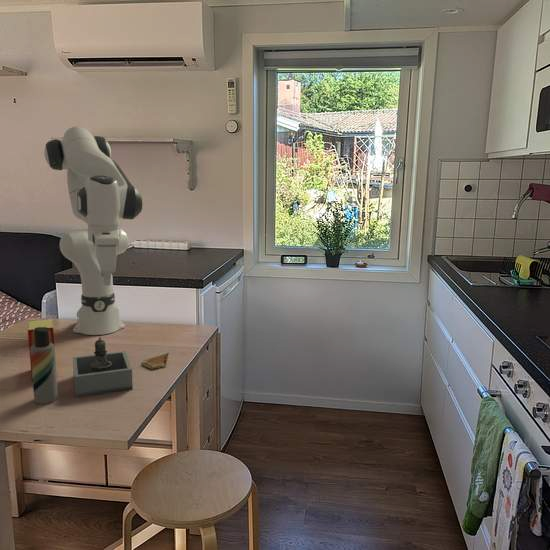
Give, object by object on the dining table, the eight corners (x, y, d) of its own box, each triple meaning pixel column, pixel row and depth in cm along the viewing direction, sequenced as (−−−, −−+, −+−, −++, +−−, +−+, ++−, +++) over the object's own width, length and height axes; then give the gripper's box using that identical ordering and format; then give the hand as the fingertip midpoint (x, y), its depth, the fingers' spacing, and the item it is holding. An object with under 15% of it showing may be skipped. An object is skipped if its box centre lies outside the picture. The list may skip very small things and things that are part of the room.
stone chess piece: (89, 373, 144) (87, 335, 142) (110, 370, 147) (108, 332, 145) (92, 381, 139) (90, 341, 137) (113, 377, 142) (112, 338, 140)
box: (73, 376, 145) (72, 357, 144) (125, 369, 151) (125, 351, 150) (75, 397, 131) (74, 376, 130) (132, 389, 137) (132, 369, 136)
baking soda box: (32, 369, 149) (28, 319, 145) (55, 366, 151) (52, 317, 148) (31, 381, 140) (27, 329, 137) (56, 378, 143) (53, 326, 140)
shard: (168, 356, 163) (168, 351, 163) (182, 363, 158) (182, 357, 158) (140, 365, 155) (140, 360, 155) (154, 372, 150) (154, 367, 150)
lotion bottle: (39, 394, 132) (34, 324, 128) (61, 394, 133) (56, 324, 129) (30, 404, 127) (24, 331, 123) (53, 404, 127) (48, 331, 123)
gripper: (90, 228, 147) (92, 272, 150) (95, 240, 129) (96, 290, 132) (112, 228, 149) (113, 272, 153) (119, 240, 131) (120, 289, 134)
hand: (105, 280), depth 142 cm, fingers open, 8 cm apart
